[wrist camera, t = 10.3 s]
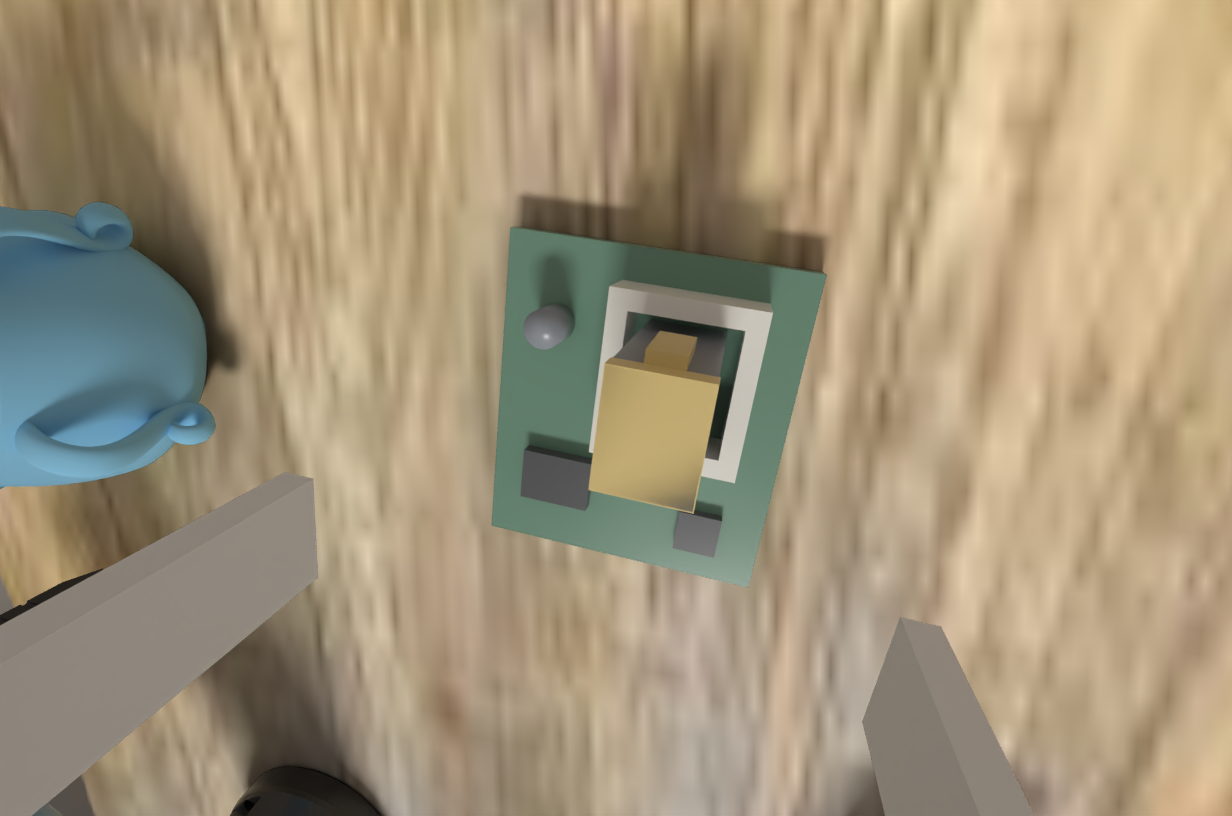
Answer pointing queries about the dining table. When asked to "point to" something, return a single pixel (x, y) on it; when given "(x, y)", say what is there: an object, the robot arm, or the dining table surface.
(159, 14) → the dining table surface
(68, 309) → the decorative pot
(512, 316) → the header board
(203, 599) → the robot arm
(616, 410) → the plug
